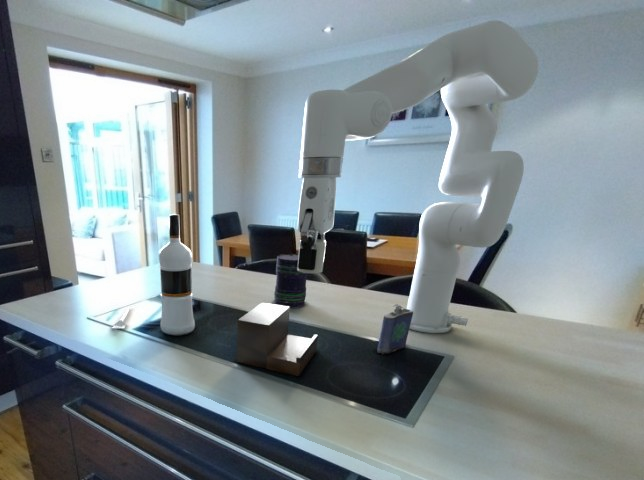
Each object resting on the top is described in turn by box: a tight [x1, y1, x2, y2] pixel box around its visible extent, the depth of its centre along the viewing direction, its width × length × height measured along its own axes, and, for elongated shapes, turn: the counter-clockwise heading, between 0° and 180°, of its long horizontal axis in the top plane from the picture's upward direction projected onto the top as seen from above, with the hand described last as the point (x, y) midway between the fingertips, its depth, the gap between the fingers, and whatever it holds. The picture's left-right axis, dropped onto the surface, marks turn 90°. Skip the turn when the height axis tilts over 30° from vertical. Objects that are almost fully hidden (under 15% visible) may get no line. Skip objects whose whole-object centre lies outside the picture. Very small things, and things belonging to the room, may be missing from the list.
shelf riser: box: [236, 302, 319, 377], centre depth 87 cm, size 14×14×10 cm
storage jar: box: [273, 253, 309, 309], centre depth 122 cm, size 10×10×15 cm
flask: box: [376, 303, 413, 355], centre depth 90 cm, size 9×3×11 cm, turn 121°
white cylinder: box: [297, 239, 327, 274], centre depth 78 cm, size 5×5×6 cm
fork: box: [110, 306, 132, 329], centre depth 112 cm, size 3×20×2 cm, turn 178°
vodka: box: [158, 213, 196, 337], centre depth 99 cm, size 9×9×30 cm
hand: (310, 265), depth 79 cm, fingers closed on white cylinder, 5 cm apart
